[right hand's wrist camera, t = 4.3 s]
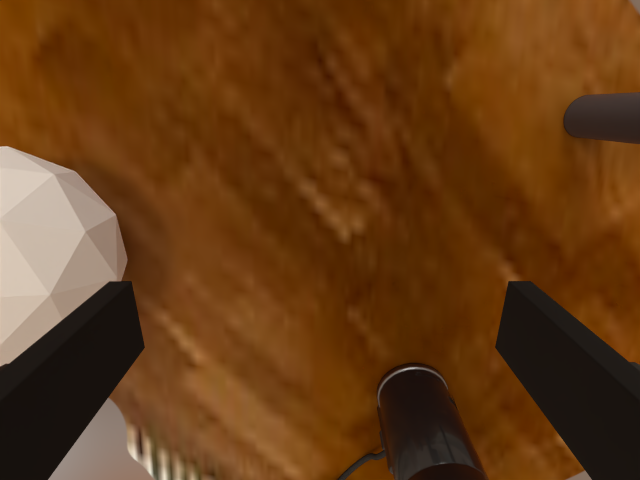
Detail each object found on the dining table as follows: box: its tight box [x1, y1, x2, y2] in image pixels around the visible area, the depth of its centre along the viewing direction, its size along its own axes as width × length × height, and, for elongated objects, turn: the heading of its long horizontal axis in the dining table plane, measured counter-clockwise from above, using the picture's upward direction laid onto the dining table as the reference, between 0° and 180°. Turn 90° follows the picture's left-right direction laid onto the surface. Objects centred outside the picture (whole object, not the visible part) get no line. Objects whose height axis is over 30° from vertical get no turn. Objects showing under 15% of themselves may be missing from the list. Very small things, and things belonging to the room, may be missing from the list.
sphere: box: [0, 146, 128, 366], centre depth 32 cm, size 19×20×20 cm
